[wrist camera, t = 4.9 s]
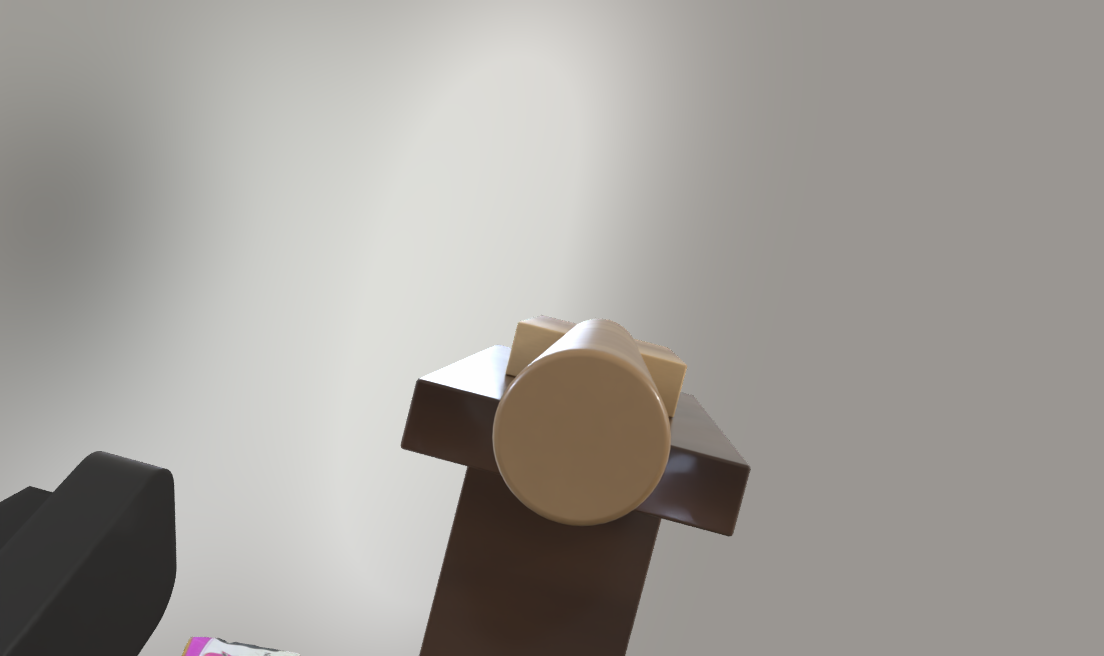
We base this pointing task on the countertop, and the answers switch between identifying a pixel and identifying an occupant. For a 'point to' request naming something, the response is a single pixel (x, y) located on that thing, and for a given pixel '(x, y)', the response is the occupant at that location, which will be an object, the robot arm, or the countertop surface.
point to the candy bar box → (228, 648)
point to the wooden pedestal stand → (551, 528)
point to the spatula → (585, 419)
